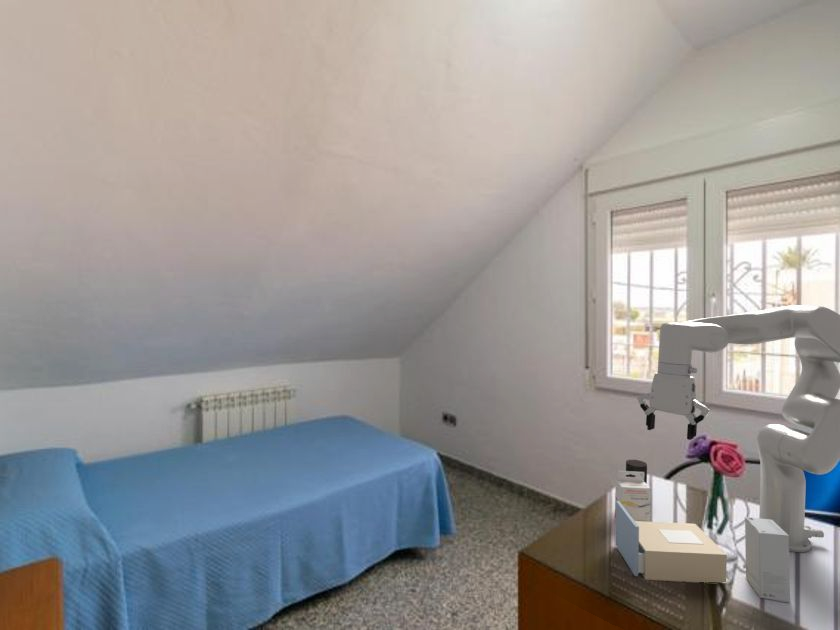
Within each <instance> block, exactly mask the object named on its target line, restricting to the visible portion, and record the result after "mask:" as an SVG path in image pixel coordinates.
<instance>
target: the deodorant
mask: <svg viewBox="0 0 840 630" xmlns="http://www.w3.org/2000/svg"><path fill="white" fill-rule="evenodd" d="M625 471H635V472H644V473H645V474H644V482H645V483H646V484H647V485H648V464H647V462H645V461H642V460H639V459H628V460H626V461H625ZM626 477H635V475H632V474H629V475H626Z"/></svg>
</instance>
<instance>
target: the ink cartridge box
mask: <svg viewBox="0 0 840 630" xmlns="http://www.w3.org/2000/svg"><path fill="white" fill-rule="evenodd" d="M629 474H632V475H635V477H626V475H629ZM644 474H645V473H644V472H635V471H626V470H617V471H616V480H615V490H614V491H615V494H614V495H615V497H614V498H615V499H614V519H616V501H620V503H621V504H622V505H623V507H624V508H625V509H626V511H627V512H628V513H629V514H630V516H631V517H632V518H633V520H634V521H645V522H651V498H652V495H651V493H652V488H651V487H650V486H649V485H648V483H647V484H646V483H645V482H644Z"/></svg>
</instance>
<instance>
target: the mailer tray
mask: <svg viewBox="0 0 840 630" xmlns="http://www.w3.org/2000/svg"><path fill="white" fill-rule="evenodd" d="M615 546H616V548H617V550H618V551H619V553H620V555H621V556H622V557H623V559H624V561H625V562H626V564H627V565H628V567H629V569H630V571H631V572H632V574H633V576H635V577H639V574H642V573H644V571H645V551H644V550H643V548H642V547H641V546H640V544H639V526H638V525H637V524H636V522H635V521H634V520H633V518H632V517H631V516H630V514H629V513H628V512H627V511H626V509H625V508H624V507H623V505H622V504H621V503H620V501H616V518H615Z"/></svg>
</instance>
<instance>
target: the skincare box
mask: <svg viewBox="0 0 840 630" xmlns="http://www.w3.org/2000/svg"><path fill="white" fill-rule="evenodd" d="M744 528H745V529H744V532H745V534H744V536H745V539H744V541H745V542H744V543H745V578H746V579H747V581H748V582H749V584H750V585H751V586H752V588H753V590H754V591H755V592H756V593H757V595H758V596H759V597H760V598H761V599H767V600H768V599H769V600H771V601H772V600H773V601H777V602H781V603H782V602H783V603H789V604H790V603H791V577H790V576H791V573H790V567H791V566H790V551H789V535H788V534H787V533H786V532H785V531H783V530H782V529H781V528H780V527H779V526H778V525H777V524H776V523H775V522H774V521H773V520H770V519H760V518H759V517H748V516H747V517H744Z"/></svg>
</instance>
